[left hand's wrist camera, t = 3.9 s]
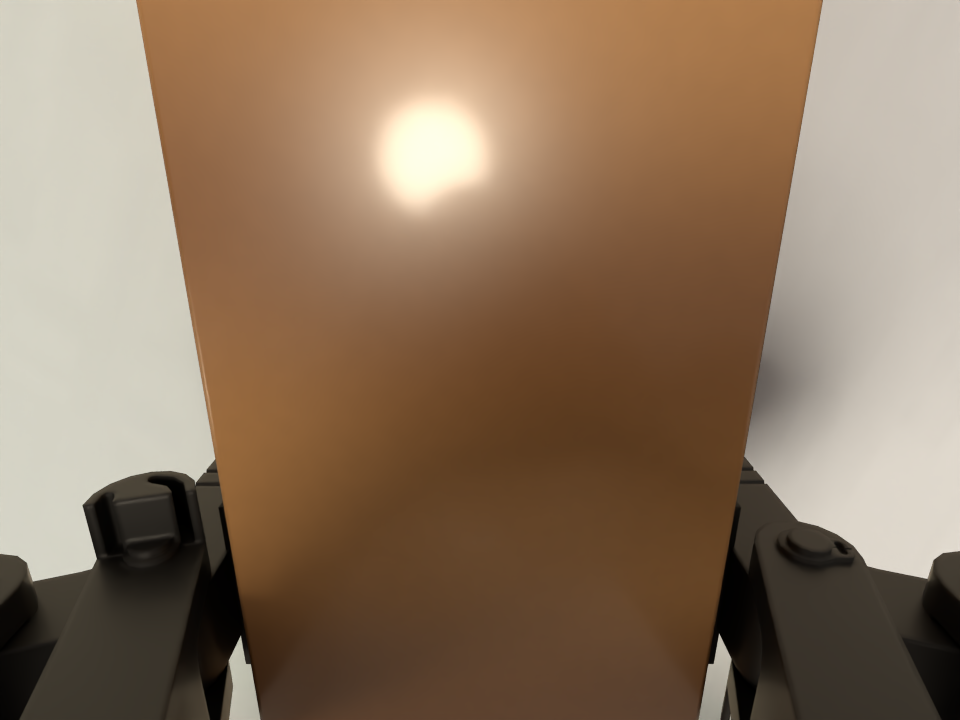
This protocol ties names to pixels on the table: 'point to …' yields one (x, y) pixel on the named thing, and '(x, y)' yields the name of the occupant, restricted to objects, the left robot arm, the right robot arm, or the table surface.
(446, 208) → the bar
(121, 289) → the table surface
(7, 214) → the table surface
